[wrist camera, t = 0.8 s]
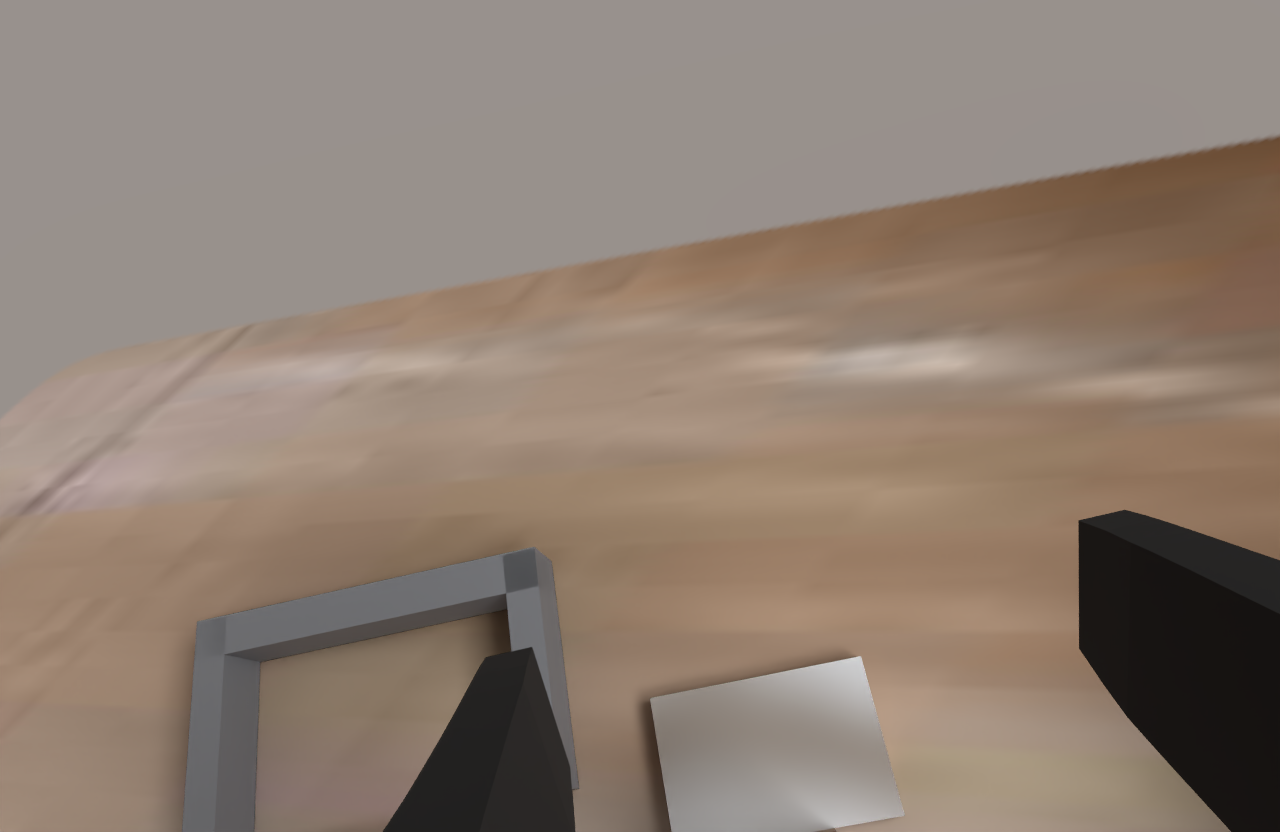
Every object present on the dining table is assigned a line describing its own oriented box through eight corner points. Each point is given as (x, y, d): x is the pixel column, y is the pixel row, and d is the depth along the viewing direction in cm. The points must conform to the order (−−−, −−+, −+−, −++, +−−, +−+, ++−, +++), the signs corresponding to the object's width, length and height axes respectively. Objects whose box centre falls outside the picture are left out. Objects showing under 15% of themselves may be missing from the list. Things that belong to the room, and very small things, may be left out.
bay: (579, 788, 23) (561, 789, 21) (222, 856, 24) (179, 861, 23) (551, 561, 26) (534, 546, 24) (233, 631, 27) (196, 621, 25)
